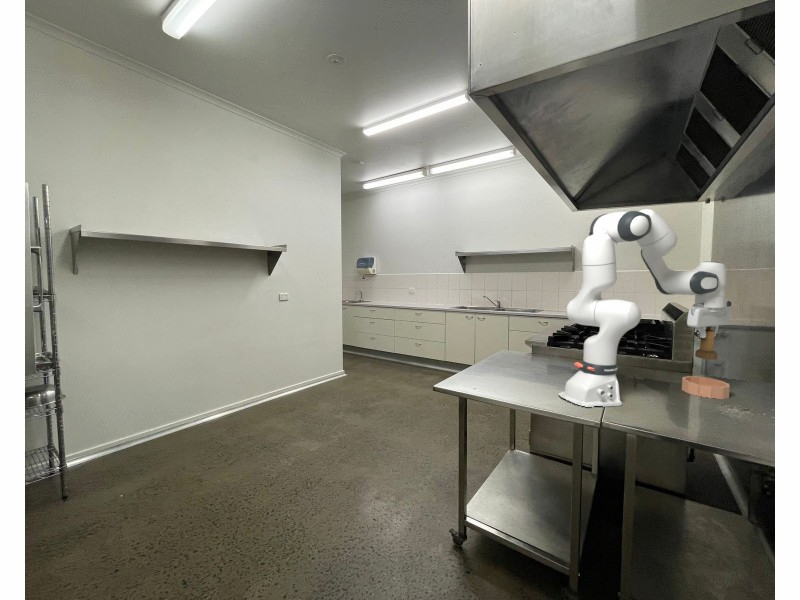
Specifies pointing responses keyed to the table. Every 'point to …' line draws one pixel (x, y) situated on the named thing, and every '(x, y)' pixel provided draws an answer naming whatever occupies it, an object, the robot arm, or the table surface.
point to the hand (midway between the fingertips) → (707, 337)
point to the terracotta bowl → (705, 387)
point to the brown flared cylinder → (707, 346)
